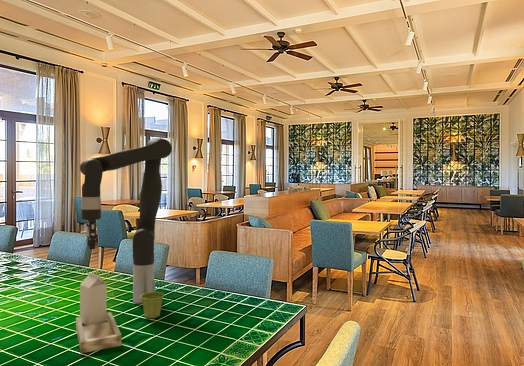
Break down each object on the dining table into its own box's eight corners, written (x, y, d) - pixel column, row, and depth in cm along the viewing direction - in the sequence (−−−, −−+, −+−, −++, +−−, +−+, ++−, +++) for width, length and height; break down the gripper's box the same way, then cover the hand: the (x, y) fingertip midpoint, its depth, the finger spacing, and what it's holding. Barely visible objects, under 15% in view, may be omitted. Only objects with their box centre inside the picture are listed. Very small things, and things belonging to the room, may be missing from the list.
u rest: (111, 320, 154) (111, 312, 154) (121, 345, 132) (121, 335, 132) (75, 326, 148) (75, 317, 148) (80, 353, 126) (80, 342, 126)
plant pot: (139, 313, 162) (139, 292, 162) (162, 310, 166) (162, 290, 166) (140, 321, 154) (141, 299, 154) (165, 318, 157) (165, 297, 157)
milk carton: (89, 327, 148) (89, 277, 147) (79, 322, 152) (79, 274, 151) (106, 321, 153) (106, 273, 153) (96, 317, 158) (97, 270, 157)
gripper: (103, 209, 155) (103, 249, 155) (99, 206, 167) (98, 243, 168) (82, 209, 151) (82, 251, 152) (79, 206, 164) (79, 245, 164)
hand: (91, 247), depth 160 cm, fingers open, 7 cm apart
